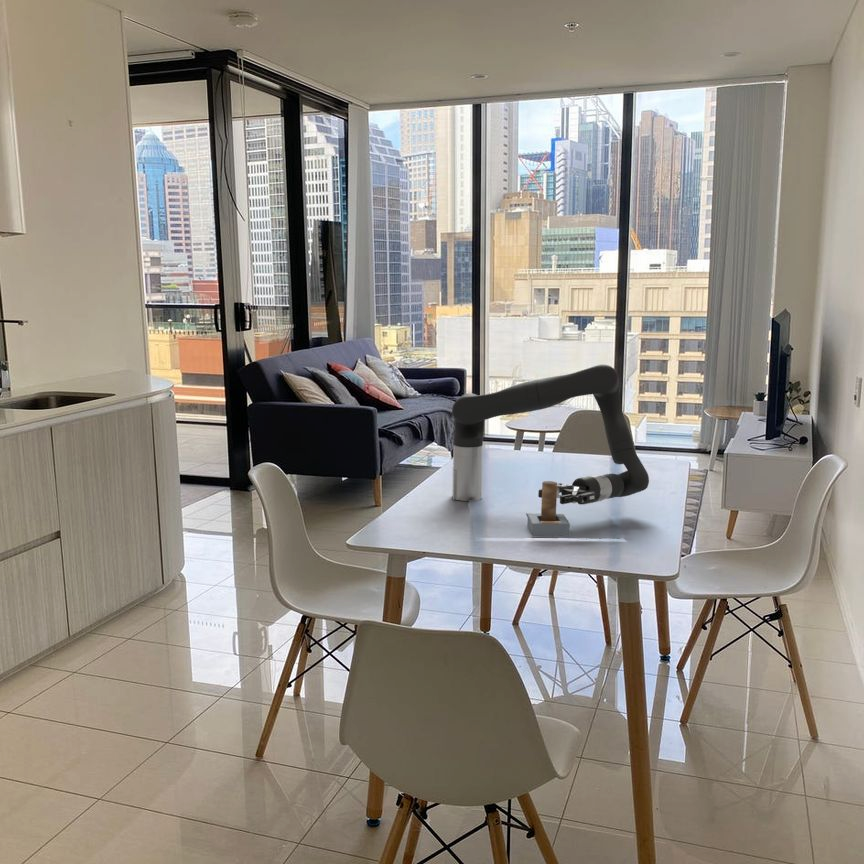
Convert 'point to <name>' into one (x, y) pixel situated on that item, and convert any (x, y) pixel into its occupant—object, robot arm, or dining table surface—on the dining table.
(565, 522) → the socket block
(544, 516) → the walnut peg
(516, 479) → the dining table surface
